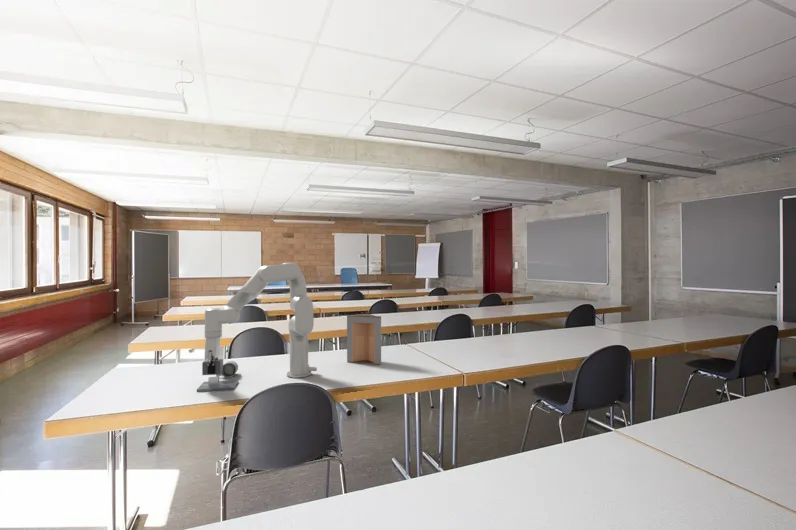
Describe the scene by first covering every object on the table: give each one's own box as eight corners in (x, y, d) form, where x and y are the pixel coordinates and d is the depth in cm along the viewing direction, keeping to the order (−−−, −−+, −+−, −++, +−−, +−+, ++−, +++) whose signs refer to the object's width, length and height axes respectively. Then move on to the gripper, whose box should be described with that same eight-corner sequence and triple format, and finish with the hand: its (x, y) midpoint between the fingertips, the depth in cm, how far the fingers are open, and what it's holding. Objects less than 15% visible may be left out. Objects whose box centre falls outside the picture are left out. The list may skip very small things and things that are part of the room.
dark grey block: (223, 371, 200) (223, 358, 200) (220, 374, 194) (220, 361, 194) (205, 371, 198) (205, 359, 198) (202, 375, 193) (202, 362, 193)
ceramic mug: (238, 372, 221) (238, 358, 221) (236, 377, 213) (236, 362, 213) (217, 374, 218) (217, 360, 218) (214, 379, 210) (214, 364, 210)
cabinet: (347, 362, 243) (346, 315, 243) (353, 358, 252) (353, 313, 252) (380, 365, 237) (380, 316, 237) (385, 361, 246) (385, 314, 246)
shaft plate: (238, 382, 204) (238, 372, 204) (233, 389, 192) (233, 379, 192) (204, 384, 201) (204, 374, 201) (196, 391, 189) (196, 381, 189)
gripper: (209, 331, 204) (209, 367, 204) (199, 337, 187) (199, 377, 187) (225, 331, 205) (225, 367, 205) (217, 337, 188) (216, 376, 188)
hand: (213, 371), depth 196 cm, fingers closed on dark grey block, 5 cm apart
